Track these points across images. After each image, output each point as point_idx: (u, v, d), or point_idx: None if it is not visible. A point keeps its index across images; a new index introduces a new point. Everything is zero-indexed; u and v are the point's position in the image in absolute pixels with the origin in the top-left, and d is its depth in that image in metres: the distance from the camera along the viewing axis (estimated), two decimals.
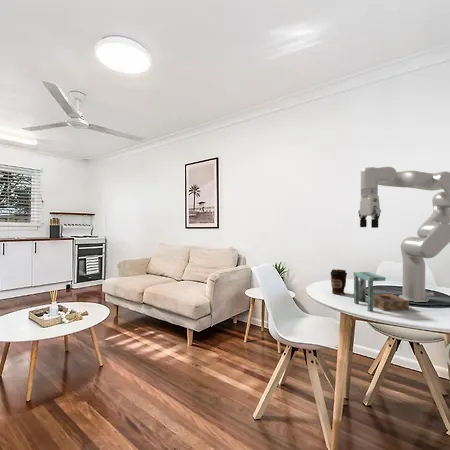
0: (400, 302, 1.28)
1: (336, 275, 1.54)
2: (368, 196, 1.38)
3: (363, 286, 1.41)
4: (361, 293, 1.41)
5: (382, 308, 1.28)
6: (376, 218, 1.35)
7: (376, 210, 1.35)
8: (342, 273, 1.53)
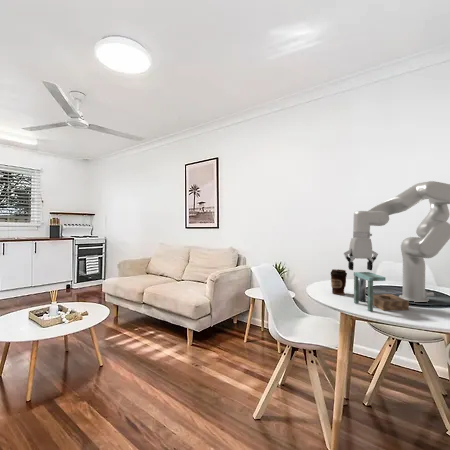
0: (400, 302, 1.28)
1: (336, 275, 1.54)
2: (369, 240, 1.41)
3: (363, 286, 1.41)
4: (361, 293, 1.41)
5: (382, 308, 1.28)
6: None
7: (374, 253, 1.43)
8: (342, 273, 1.53)
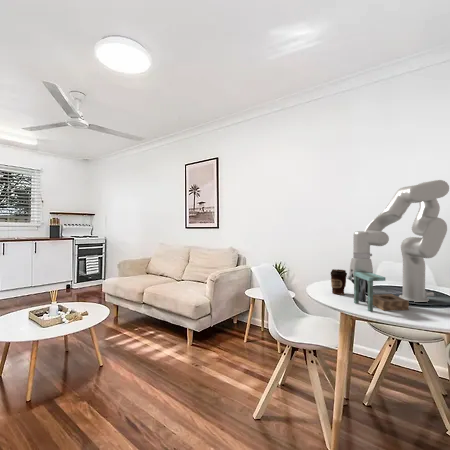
0: (400, 302, 1.28)
1: (336, 275, 1.54)
2: (369, 260, 1.41)
3: (363, 286, 1.41)
4: (361, 293, 1.41)
5: (382, 308, 1.28)
6: None
7: None
8: (342, 273, 1.53)
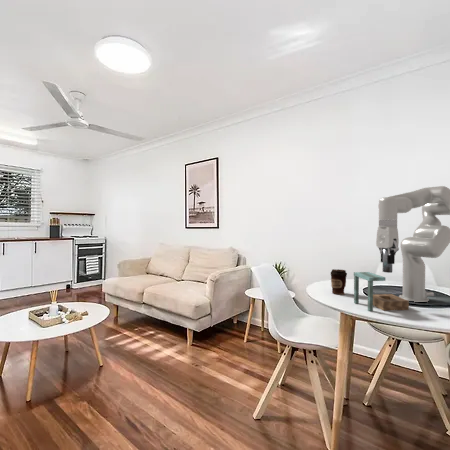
0: (400, 302, 1.28)
1: (336, 275, 1.54)
2: None
3: None
4: None
5: (382, 308, 1.28)
6: None
7: None
8: (342, 273, 1.53)
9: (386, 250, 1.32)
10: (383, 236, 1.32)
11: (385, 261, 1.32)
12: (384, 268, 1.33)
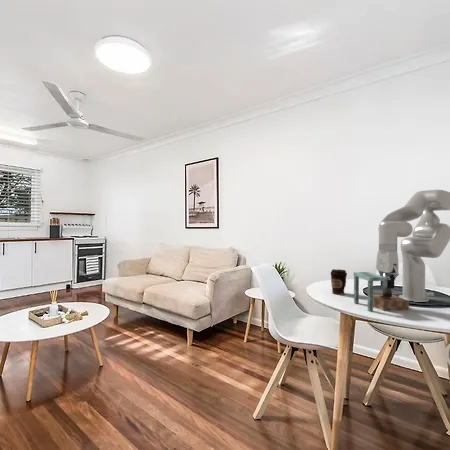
0: (400, 302, 1.28)
1: (336, 275, 1.54)
2: None
3: None
4: None
5: (382, 308, 1.28)
6: None
7: None
8: (342, 273, 1.53)
9: (386, 274, 1.32)
10: (383, 260, 1.32)
11: (385, 285, 1.32)
12: (384, 292, 1.33)
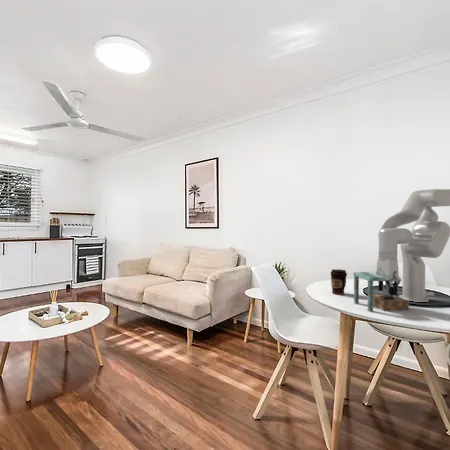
0: (400, 302, 1.28)
1: (336, 275, 1.54)
2: None
3: None
4: (392, 297, 1.33)
5: (382, 308, 1.28)
6: None
7: None
8: (342, 273, 1.53)
9: (386, 285, 1.32)
10: (383, 268, 1.32)
11: (385, 296, 1.33)
12: None
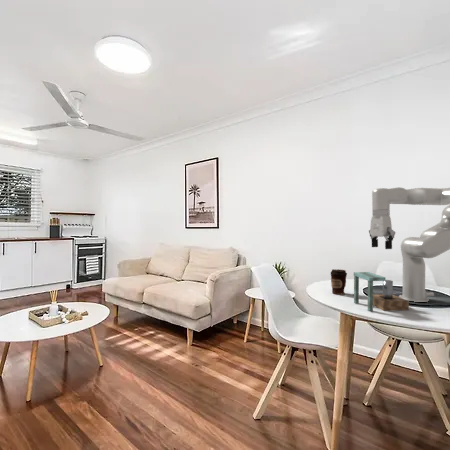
0: (400, 302, 1.28)
1: (336, 275, 1.54)
2: None
3: None
4: (392, 297, 1.33)
5: (382, 308, 1.28)
6: None
7: None
8: (342, 273, 1.53)
9: (386, 285, 1.32)
10: (377, 225, 1.40)
11: (385, 296, 1.33)
12: None
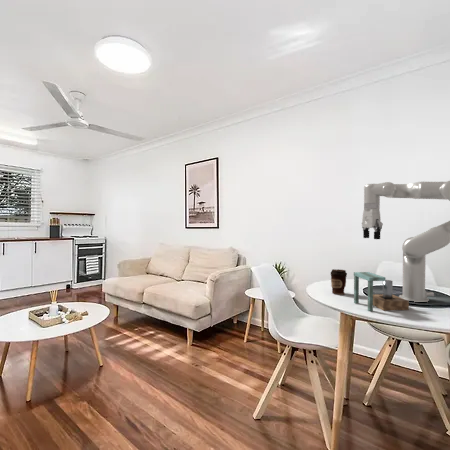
0: (400, 302, 1.28)
1: (336, 275, 1.54)
2: None
3: None
4: None
5: (382, 308, 1.28)
6: None
7: None
8: (342, 273, 1.53)
9: (386, 285, 1.32)
10: (367, 217, 1.53)
11: (385, 296, 1.33)
12: None
